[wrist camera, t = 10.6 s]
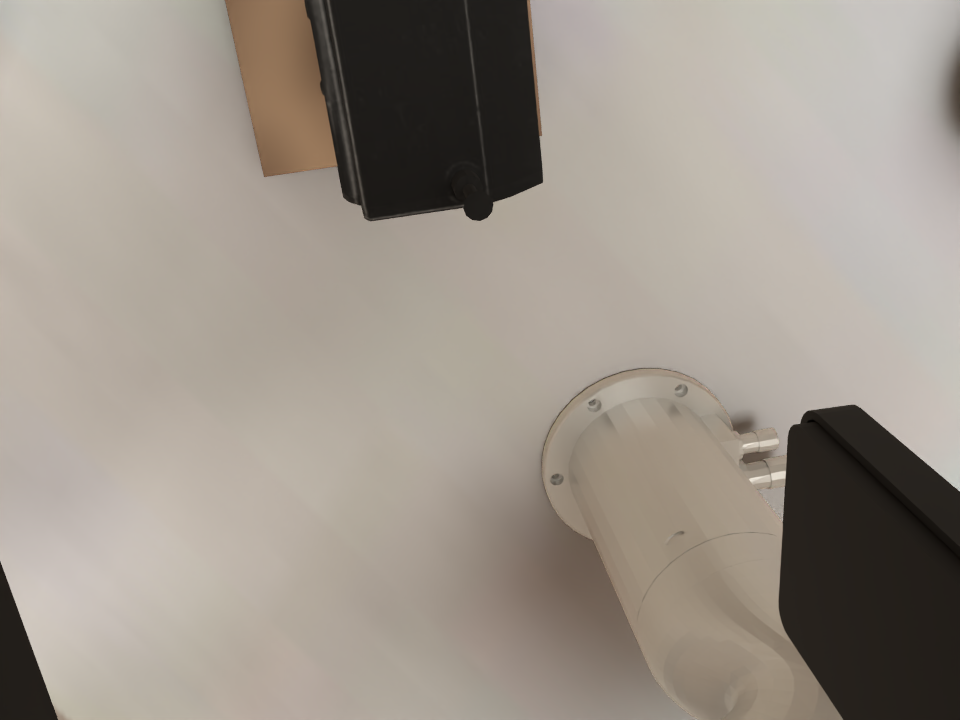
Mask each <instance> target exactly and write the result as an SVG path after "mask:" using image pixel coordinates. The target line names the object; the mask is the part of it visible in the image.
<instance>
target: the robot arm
mask: <svg viewBox="0 0 960 720" xmlns="http://www.w3.org/2000/svg"><path fill="white" fill-rule="evenodd" d="M678 385H679V386H678ZM677 386H678V387H677ZM676 387H677V388H676ZM591 400H594V401H593V402H591V403H589V402H590V401H591ZM778 446H779V439H778V435H777V433H776V431H775V429H773V428H767V429H761V430H756V431H752V432H751V433H745V434H739V433H738V432H737V431H734V430H733V426H732V423H731V421H730V419H729V416H728V414H727V412H726V410H725V409H724V408H723V406H722V405H721V403H720V402H719V401H718V399H717V398H716V397H715V396H714V395H713V394H712V393H711V392H710V391H709V390H708V389H707V388H706V387H705V386H703V385H702V384H700V383H699V382H697V381H696V380H695V379H693V378H690V377H688V376H685V375H683V374H681V373H678V372H674V371H669V370H663V369H638V370H632V371H626V372H622V373H619V374H616V375H613V376H610V377H607V378H605V379H603V380H601V381H599V382H597V383H596V384H594V385H592V386H590V387H588V388H587V389H586V390H584V391H583V392H582V393H581V394H579V395H578V396H577V397H576V398H574V399H573V400H572V401H571V402H570V403H569V404H568V406H567V407H566V408H565V409H564V410H563V411H562V412H561V413H560V415H559V416H558V418H557V420H556V421H555V423H554V425H553V426H552V428H551V429H550V432H549V435H548V437H547V440H546V443H545V445H544V450H543V457H542V479H543V482H544V486H545V490H546V493H547V495H548V498H549V500H550V502H551V505H552V507H553V508H554V510H555V511H556V513H557V514H558V516H559V517H560V518H561V520H562V521H563V522H565V523H566V524H567V525H568V526H569V527H570V528H571V529H572V530H574V531H575V532H577V533H579V534H581V535H582V536H584V537H586V538H588V539H591V540H593V541H594V543H595V546H596V548H597V550H598V553H599V555H600V557H601V560H602V562H603V564H604V566H605V569H606V571H607V573H608V576H609V578H610V580H611V583H612V585H613V587H614V589H615V592H616V594H617V596H618V599H619V601H620V603H621V605H622V608H623V610H624V612H625V615H626V617H627V619H628V622H629V624H630V626H631V628H632V631H633V633H634V635H635V638H636V640H637V642H638V645H639V647H640V649H641V651H642V653H643V656H644V658H645V660H646V662H647V665H648V667H649V669H650V671H651V673H652V674H653V676H654V678H655V679H656V681H657V683H658V684H659V685H660V687H661V688H662V689H663V690H664V692H665V693H666V694H667V695H668V696H669V697H670V698H671V699H672V700H673V701H674V702H675V703H676V704H677V705H678V706H680V707H681V708H682V709H683V710H684V711H686V712H687V713H688V714H690V715H691V716H693V717H694V718H696V719H698V720H960V492H959V491H958V490H957V489H956V488H955V487H953V486H952V485H951V484H950V483H949V482H947V481H946V480H945V479H944V478H943V477H942V476H940V475H939V474H938V473H937V472H936V471H934V470H933V469H932V468H931V467H930V466H929V465H927V464H926V463H925V462H924V461H923V460H921V459H920V458H919V457H918V456H917V455H916V454H914V453H913V452H912V451H911V450H910V449H908V448H907V447H906V446H905V445H904V444H902V443H901V442H900V441H899V440H898V439H897V438H895V437H894V436H893V435H892V434H891V433H889V432H888V431H887V430H886V429H885V428H884V427H882V426H881V425H880V424H879V423H878V422H876V421H875V420H874V419H873V418H872V417H870V416H869V415H868V414H867V413H866V412H865V411H863V410H862V409H861V408H859V407H858V406H856V405H846V406H839V407H832V408H825V409H818V410H811V411H807V412H806V413H805V414H804V415H803V417H802V419H801V423H800V424H796V425H793V426H792V427H791V428H790V430H789V434H788V445H787V455H783V456H778V457H772V458H767V459H762V460H760V461H758V462H752V463H747V464H745V463H744V462H743V461H742V460H741V459H742V458H743V454H748V453H753V452H757V453H759V452H765V451H770V450H776V449H777V448H778ZM556 473H557V474H556ZM554 474H555V475H554ZM784 486H785V497H784V514H783V522H782V521H781V520H780V518H779V517H778V516H777V515H776V513H775V512H774V511H773V510H772V508H771V507H770V506H769V504H768V503H767V502H766V501H765V499H764V498H763V497H762V496H761V494H760V493H759V492H758V491H757V490H759V489H765V488H767V489H773V488H778V487H784ZM0 720H58V719H57V715H56V713H55V710H54V707H53V704H52V702H51V699H50V696H49V694H48V691H47V688H46V685H45V683H44V680H43V677H42V674H41V672H40V669H39V666H38V663H37V661H36V658H35V655H34V652H33V650H32V647H31V644H30V642H29V639H28V636H27V633H26V631H25V628H24V625H23V622H22V620H21V617H20V614H19V611H18V609H17V606H16V603H15V601H14V598H13V595H12V592H11V590H10V587H9V584H8V581H7V579H6V576H5V573H4V570H3V568H2V565H1V562H0Z"/></svg>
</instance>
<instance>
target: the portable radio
mask: <svg viewBox="0 0 960 720" xmlns="http://www.w3.org/2000/svg"><path fill="white" fill-rule="evenodd" d="M304 3H305V8H306V13H307V17H308V18H309V19H310V22H311V27H312V33H313V38H314V43H315V49H316V54H317V59H318V65H319V70H320V76H321V82H320V88H321V92H322V94H323V95H324V97H325V102H326V108H327V113H328V118H329V124H330V129H331V134H332V140H333V145H334V151H335V156H336V161H337V167H338V172H339V177H340V183H341V188H342V193H343V197H344V198H345V199H346V200H347V201H349V202H350V203H354V204H357V205H361V206H362V210H363V214H364V218H365V219H367V220H369V221H376V220H383V219H390V218H396V217H403V216H410V215H417V214H424V213H431V212H437V211H444V210H451V209H458V208H463V209H464V211H465V214H466V216H468V217H469V218H470V219H472V220H477V221H481V220H483V219H485V218H487V217H488V216H489V215H490V214H491V212H492V209H493V202H495V201H498V200H502V199H505V198H508V197H511V196H514V195H516V194H518V193H520V192H523V191H525V190H527V189H529V188H532V187H534V186H536V185H539V184H541V183H543V172H542V160H541V149H540V138H539V127H538V116H537V105H536V94H535V83H534V72H533V61H532V50H531V39H530V28H529V17H528V6H527V0H304Z"/></svg>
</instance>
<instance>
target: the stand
mask: <svg viewBox="0 0 960 720" xmlns="http://www.w3.org/2000/svg"><path fill="white" fill-rule="evenodd" d="M225 2H226V7H227V11H228V16H229V20H230V25H231V29H232V34H233V38H234V43H235V47H236V52H237V57H238V61H239V66H240V70H241V75H242V79H243V84H244V88H245V93H246V97H247V102H248V106H249V111H250V115H251V120H252V124H253V129H254V133H255V138H256V142H257V147H258V151H259V156H260V160H261V165H262V170H263V174H264V177H267V176H274V175H280V174H287V173H294V172H301V171H307V170H314V169H321V168H328V167H334V166H337V161H336V156H335V151H334V145H333V140H332V134H331V129H330V124H329V118H328V113H327V108H326V102H325V97H324V95H323V94H322V92H321V88H320V82H321V76H320V70H319V65H318V59H317V54H316V49H315V43H314V38H313V33H312V27H311V22H310V19H309V18H308V17H307V13H306V8H305V3H304V0H225ZM527 6H528V17H529V28H530V39H531V50H532V61H533V72H534V83H535V94H536V105H537V116H538V127H539V136H542V131H541V120H540V108H539V97H538V86H537V75H536V63H535V52H534V41H533V30H532V19H531V7H530V0H527Z"/></svg>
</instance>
